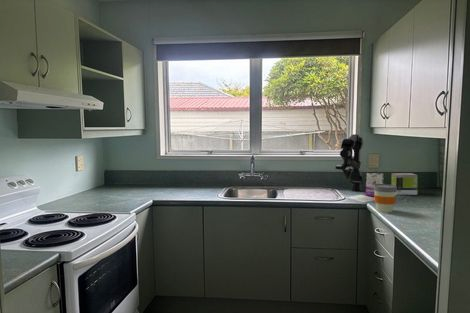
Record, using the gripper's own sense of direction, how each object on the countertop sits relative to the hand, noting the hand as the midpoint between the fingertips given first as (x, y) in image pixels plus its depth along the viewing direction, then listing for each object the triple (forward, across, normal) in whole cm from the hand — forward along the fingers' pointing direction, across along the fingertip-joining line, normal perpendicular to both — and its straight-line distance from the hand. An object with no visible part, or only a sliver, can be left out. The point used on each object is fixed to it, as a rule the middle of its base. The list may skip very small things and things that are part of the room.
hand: (347, 178), depth 233 cm
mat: (+13, +4, -10) cm, 17 cm away
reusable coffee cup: (+13, -11, -38) cm, 42 cm away
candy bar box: (+13, +16, -10) cm, 23 cm away
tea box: (+13, +44, -14) cm, 48 cm away
